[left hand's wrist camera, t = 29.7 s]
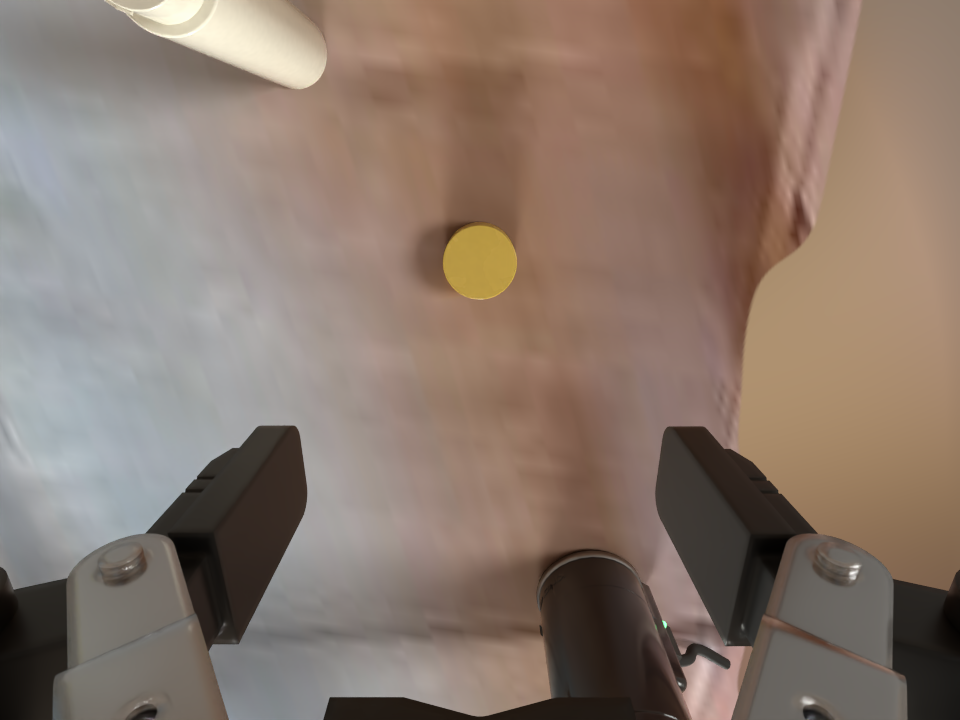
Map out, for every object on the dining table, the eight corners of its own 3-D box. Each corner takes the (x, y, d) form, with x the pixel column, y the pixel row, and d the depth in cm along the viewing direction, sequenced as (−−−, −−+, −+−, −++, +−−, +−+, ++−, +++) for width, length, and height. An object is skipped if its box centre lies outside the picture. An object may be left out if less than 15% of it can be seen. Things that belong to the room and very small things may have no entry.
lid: (500, 301, 37) (501, 309, 35) (435, 278, 37) (433, 285, 35) (525, 236, 36) (528, 240, 34) (458, 211, 35) (456, 214, 33)
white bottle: (266, -1, 31) (66, -157, 16) (335, 27, 31) (203, -97, 16) (252, 73, 32) (55, -5, 17) (318, 99, 33) (182, 45, 18)
